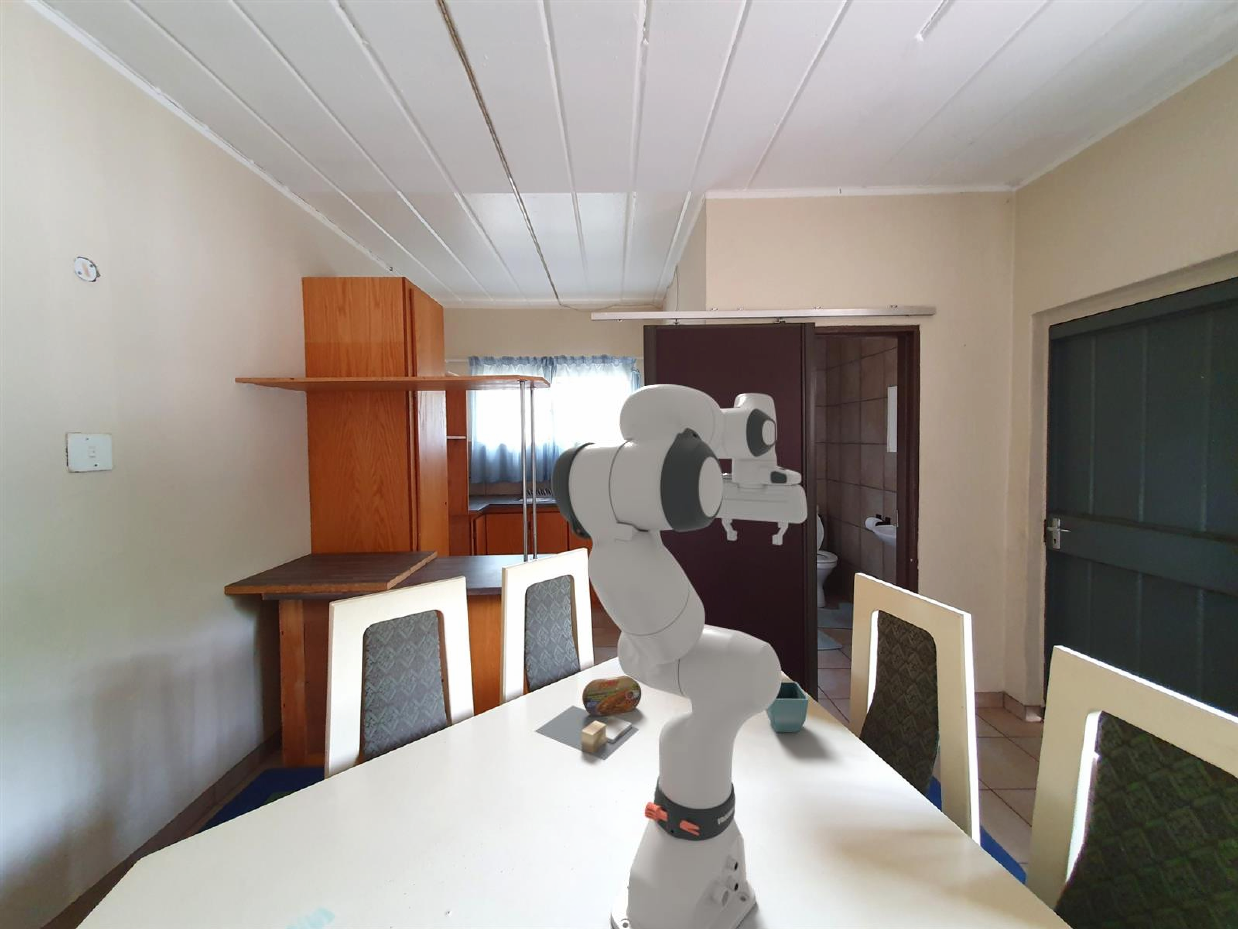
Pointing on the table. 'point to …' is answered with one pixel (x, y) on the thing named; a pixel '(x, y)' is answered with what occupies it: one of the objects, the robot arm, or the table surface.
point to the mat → (580, 731)
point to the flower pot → (788, 708)
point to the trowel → (603, 733)
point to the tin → (611, 696)
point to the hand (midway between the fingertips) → (754, 542)
